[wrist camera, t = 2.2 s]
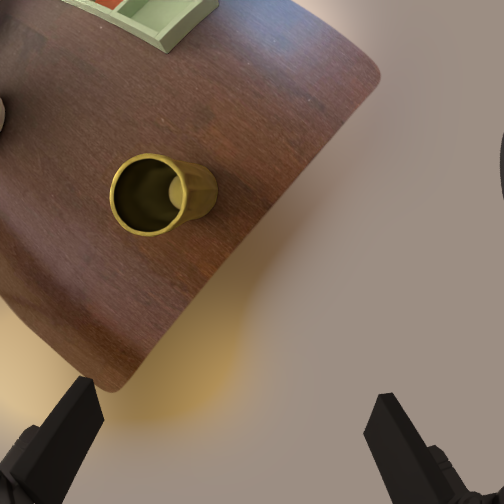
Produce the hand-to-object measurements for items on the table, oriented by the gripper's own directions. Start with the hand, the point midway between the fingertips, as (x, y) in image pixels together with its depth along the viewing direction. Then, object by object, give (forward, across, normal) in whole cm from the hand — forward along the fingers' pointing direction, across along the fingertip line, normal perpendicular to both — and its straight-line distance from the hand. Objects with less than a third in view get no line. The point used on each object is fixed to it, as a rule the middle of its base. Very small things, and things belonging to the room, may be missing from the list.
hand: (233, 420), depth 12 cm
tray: (+22, -18, +37) cm, 46 cm away
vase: (+22, -6, +9) cm, 25 cm away
